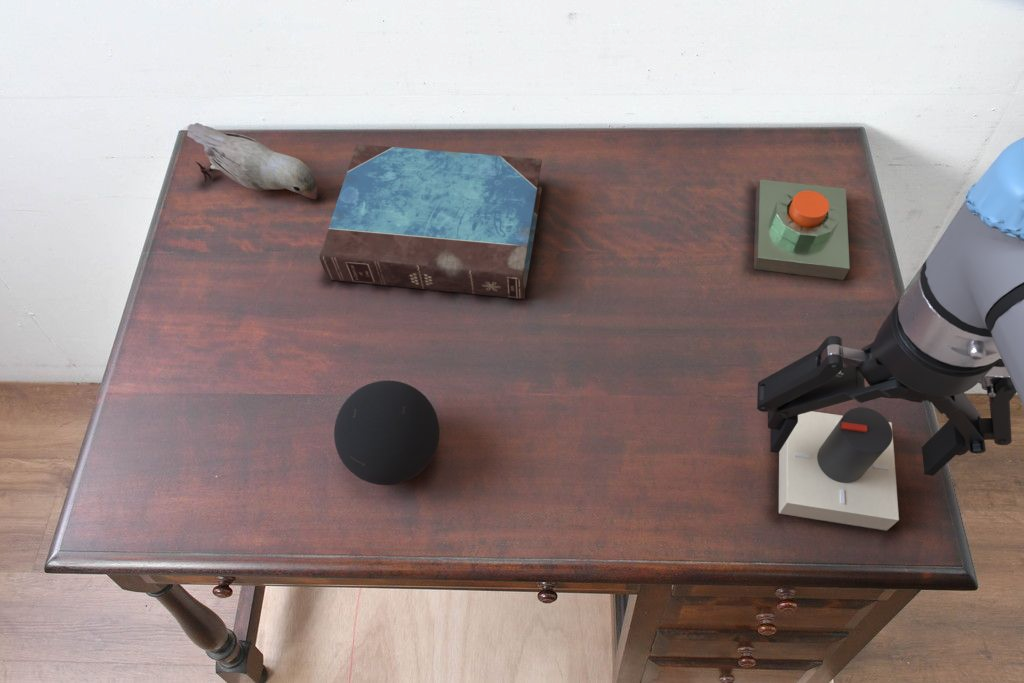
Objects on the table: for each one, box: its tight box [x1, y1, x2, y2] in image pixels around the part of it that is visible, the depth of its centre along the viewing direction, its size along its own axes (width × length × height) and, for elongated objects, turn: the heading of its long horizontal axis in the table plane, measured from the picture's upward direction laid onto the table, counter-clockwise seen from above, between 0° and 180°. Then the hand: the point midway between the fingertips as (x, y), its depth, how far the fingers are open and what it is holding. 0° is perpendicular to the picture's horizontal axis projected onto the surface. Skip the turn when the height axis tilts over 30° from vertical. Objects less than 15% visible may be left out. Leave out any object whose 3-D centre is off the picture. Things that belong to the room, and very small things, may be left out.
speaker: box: [333, 380, 440, 486], centre depth 76 cm, size 10×10×10 cm
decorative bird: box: [186, 122, 318, 200], centre depth 98 cm, size 5×16×8 cm, turn 70°
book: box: [319, 143, 543, 300], centre depth 94 cm, size 23×18×5 cm
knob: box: [817, 406, 894, 483], centre depth 72 cm, size 4×4×7 cm
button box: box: [753, 179, 851, 281], centre depth 92 cm, size 12×10×4 cm
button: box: [789, 191, 829, 227], centre depth 90 cm, size 4×4×2 cm
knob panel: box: [778, 410, 900, 531], centre depth 77 cm, size 10×10×3 cm
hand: (849, 450), depth 73 cm, fingers open, 13 cm apart
